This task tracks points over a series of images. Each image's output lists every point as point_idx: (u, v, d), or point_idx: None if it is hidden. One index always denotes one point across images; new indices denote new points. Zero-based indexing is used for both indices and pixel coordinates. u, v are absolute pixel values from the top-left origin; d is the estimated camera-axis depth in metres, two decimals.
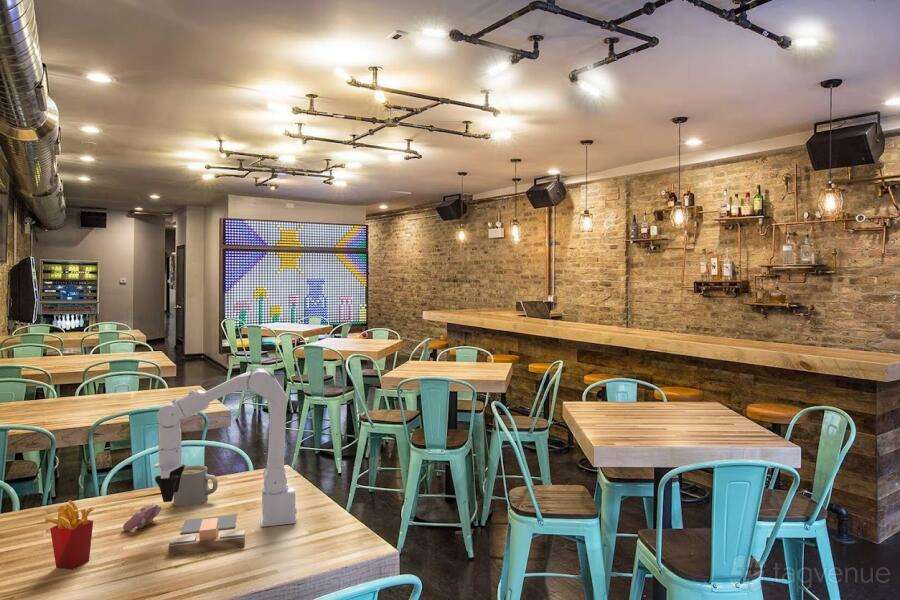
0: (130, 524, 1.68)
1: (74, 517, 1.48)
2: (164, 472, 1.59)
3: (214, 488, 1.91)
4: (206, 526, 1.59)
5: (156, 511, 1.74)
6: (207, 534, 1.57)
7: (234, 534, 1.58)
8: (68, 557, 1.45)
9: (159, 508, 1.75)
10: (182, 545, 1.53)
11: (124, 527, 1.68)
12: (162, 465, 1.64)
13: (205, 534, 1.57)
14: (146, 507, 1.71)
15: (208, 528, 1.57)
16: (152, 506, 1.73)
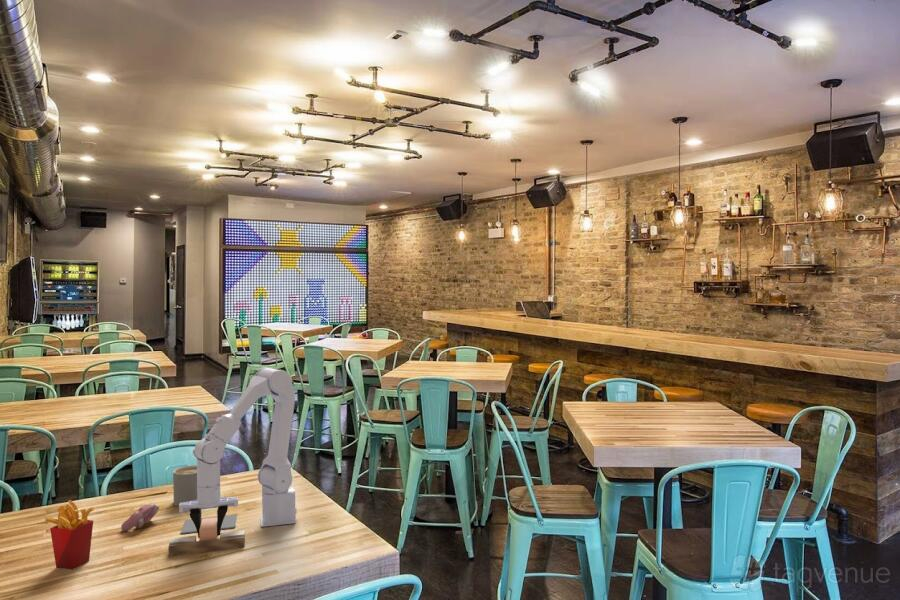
0: (128, 523, 1.68)
1: (74, 517, 1.48)
2: None
3: None
4: (206, 525, 1.59)
5: (154, 511, 1.74)
6: (207, 533, 1.57)
7: (234, 534, 1.58)
8: (68, 557, 1.45)
9: (157, 508, 1.75)
10: (182, 545, 1.53)
11: (122, 527, 1.68)
12: None
13: (205, 533, 1.57)
14: (144, 507, 1.71)
15: (208, 527, 1.57)
16: (150, 506, 1.73)
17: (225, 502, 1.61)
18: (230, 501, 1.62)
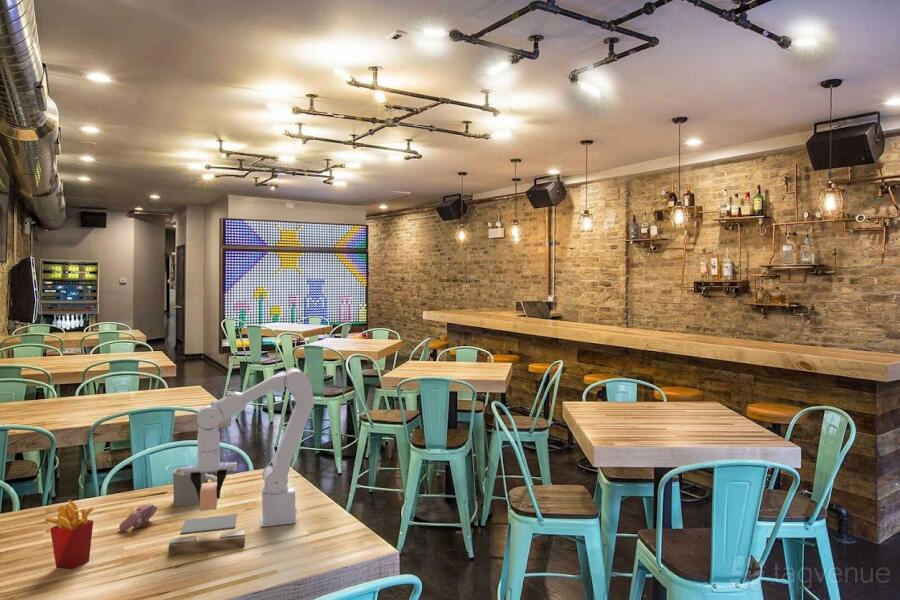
0: (126, 523, 1.68)
1: (74, 517, 1.48)
2: None
3: None
4: (206, 489, 1.66)
5: (152, 511, 1.74)
6: (207, 496, 1.63)
7: (234, 534, 1.58)
8: (68, 557, 1.45)
9: (155, 508, 1.75)
10: (182, 545, 1.53)
11: (120, 527, 1.68)
12: None
13: (205, 496, 1.63)
14: (142, 507, 1.71)
15: (208, 490, 1.64)
16: (148, 506, 1.73)
17: (224, 466, 1.68)
18: (229, 465, 1.69)
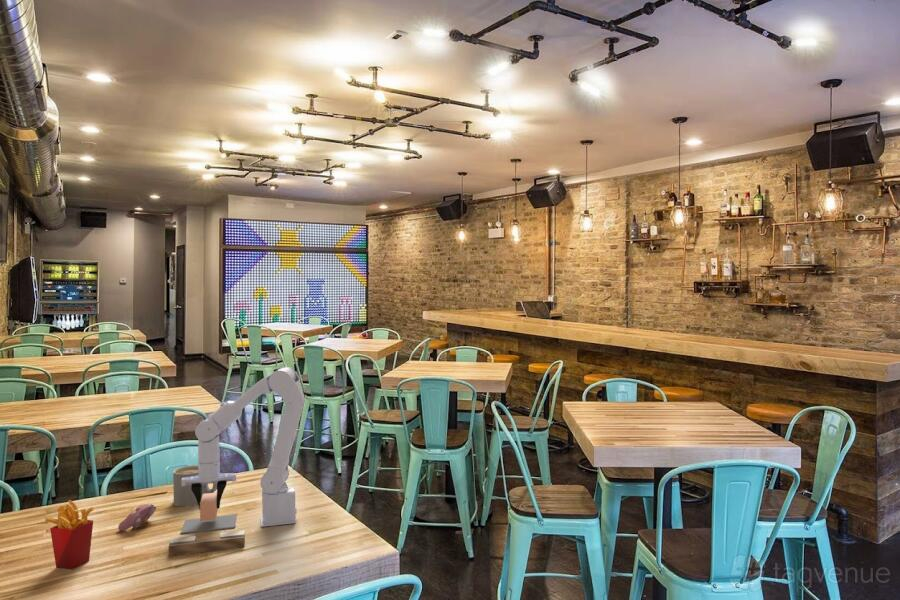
0: (126, 523, 1.68)
1: (74, 517, 1.48)
2: None
3: (214, 488, 1.91)
4: (206, 499, 1.71)
5: (151, 511, 1.74)
6: (207, 506, 1.69)
7: (234, 534, 1.58)
8: (68, 557, 1.45)
9: (154, 508, 1.75)
10: (182, 545, 1.53)
11: (119, 527, 1.68)
12: None
13: (205, 506, 1.68)
14: (141, 507, 1.71)
15: (208, 501, 1.69)
16: (147, 506, 1.73)
17: (224, 477, 1.73)
18: (229, 476, 1.74)
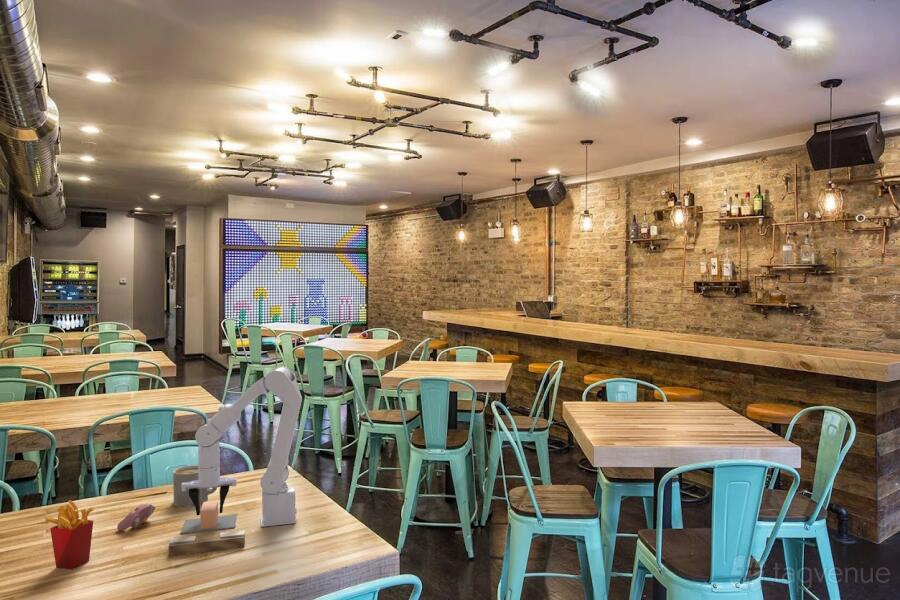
0: (124, 523, 1.68)
1: (74, 517, 1.48)
2: None
3: (214, 488, 1.91)
4: (206, 508, 1.71)
5: (150, 511, 1.74)
6: (207, 515, 1.69)
7: (234, 534, 1.58)
8: (68, 557, 1.45)
9: (153, 508, 1.76)
10: (182, 545, 1.53)
11: (118, 527, 1.68)
12: None
13: (206, 514, 1.69)
14: (140, 507, 1.71)
15: (208, 509, 1.69)
16: (146, 506, 1.73)
17: (224, 482, 1.73)
18: (229, 481, 1.74)
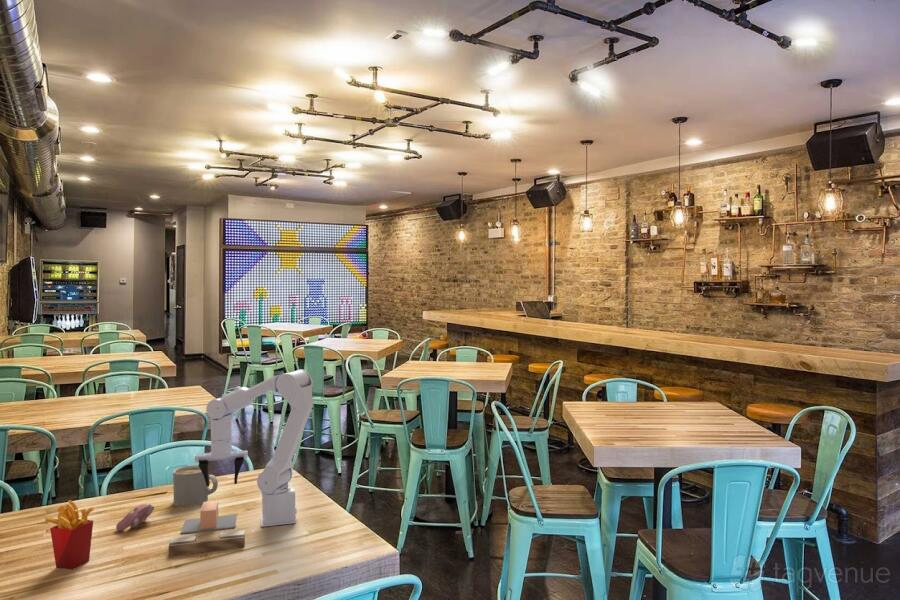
0: (123, 523, 1.68)
1: (74, 517, 1.48)
2: (195, 456, 1.77)
3: (214, 488, 1.91)
4: (206, 508, 1.71)
5: (149, 511, 1.75)
6: (207, 515, 1.69)
7: (234, 534, 1.58)
8: (68, 557, 1.45)
9: (152, 508, 1.76)
10: (182, 545, 1.53)
11: (117, 527, 1.68)
12: None
13: (206, 514, 1.69)
14: (139, 507, 1.71)
15: (208, 509, 1.69)
16: (145, 506, 1.73)
17: (236, 454, 1.79)
18: (240, 453, 1.79)
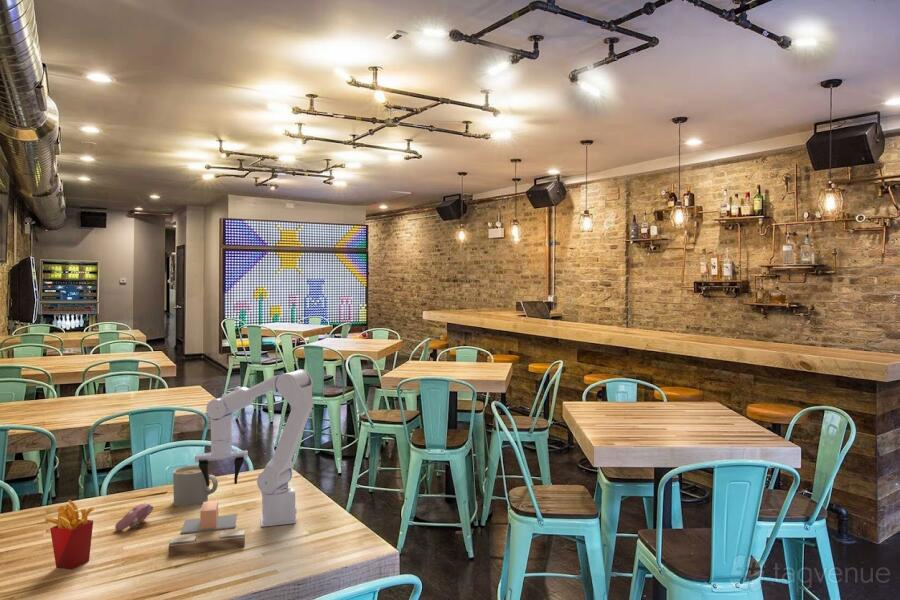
0: (122, 523, 1.68)
1: (74, 517, 1.48)
2: (195, 456, 1.77)
3: (214, 488, 1.91)
4: (206, 508, 1.71)
5: (148, 511, 1.75)
6: (207, 515, 1.69)
7: (234, 534, 1.58)
8: (68, 557, 1.45)
9: (151, 508, 1.76)
10: (182, 545, 1.53)
11: (116, 527, 1.68)
12: None
13: (206, 514, 1.69)
14: (138, 507, 1.71)
15: (208, 509, 1.69)
16: (144, 506, 1.73)
17: (236, 454, 1.79)
18: (240, 453, 1.79)
